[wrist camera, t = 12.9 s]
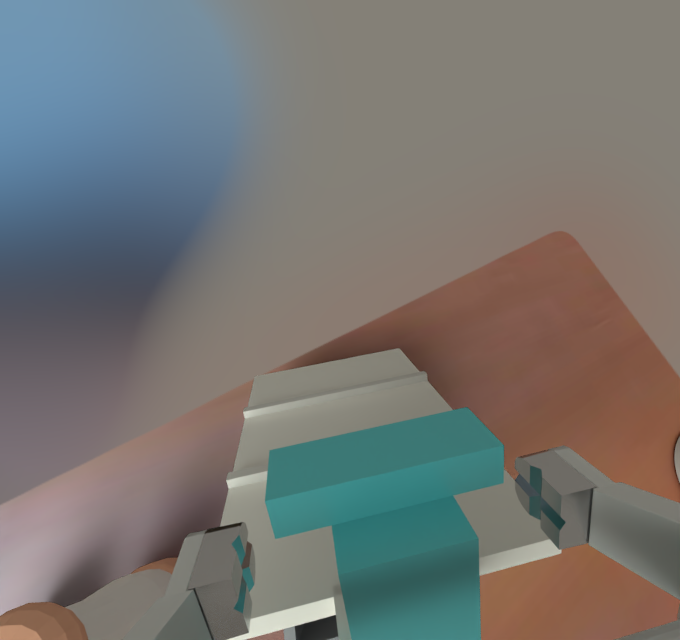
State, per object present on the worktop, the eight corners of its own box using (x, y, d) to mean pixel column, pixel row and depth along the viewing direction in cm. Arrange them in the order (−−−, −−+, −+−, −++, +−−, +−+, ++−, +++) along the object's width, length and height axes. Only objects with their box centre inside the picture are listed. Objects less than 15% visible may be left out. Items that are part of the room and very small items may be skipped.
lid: (399, 356, 34) (391, 274, 31) (665, 679, 10) (726, 443, 7) (257, 385, 32) (235, 301, 30) (163, 842, 8) (14, 622, 6)
